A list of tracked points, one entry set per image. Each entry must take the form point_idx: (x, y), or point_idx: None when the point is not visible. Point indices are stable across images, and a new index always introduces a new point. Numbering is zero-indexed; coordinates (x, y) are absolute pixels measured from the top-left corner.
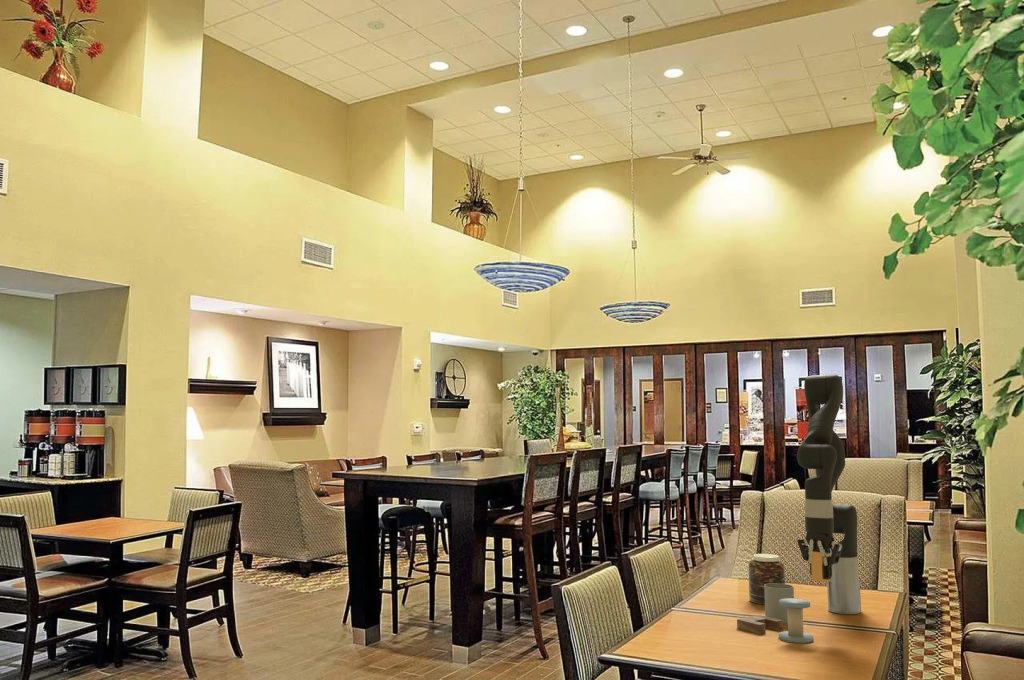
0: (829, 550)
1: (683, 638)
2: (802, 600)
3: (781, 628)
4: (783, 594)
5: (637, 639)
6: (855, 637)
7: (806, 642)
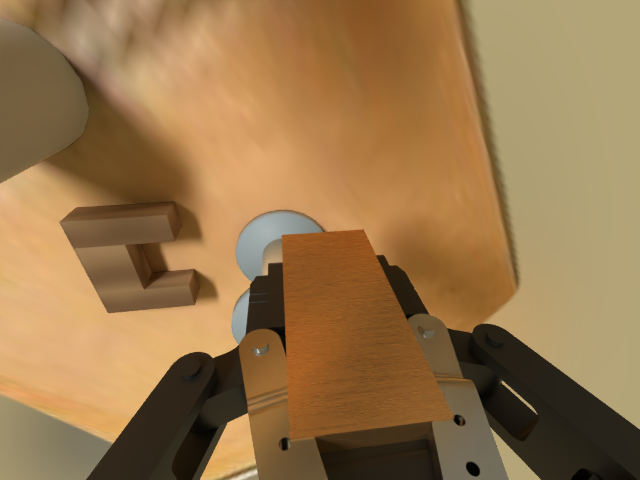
0: (476, 449)
1: None
2: None
3: (175, 208)
4: (8, 160)
5: None
6: (372, 78)
7: None
